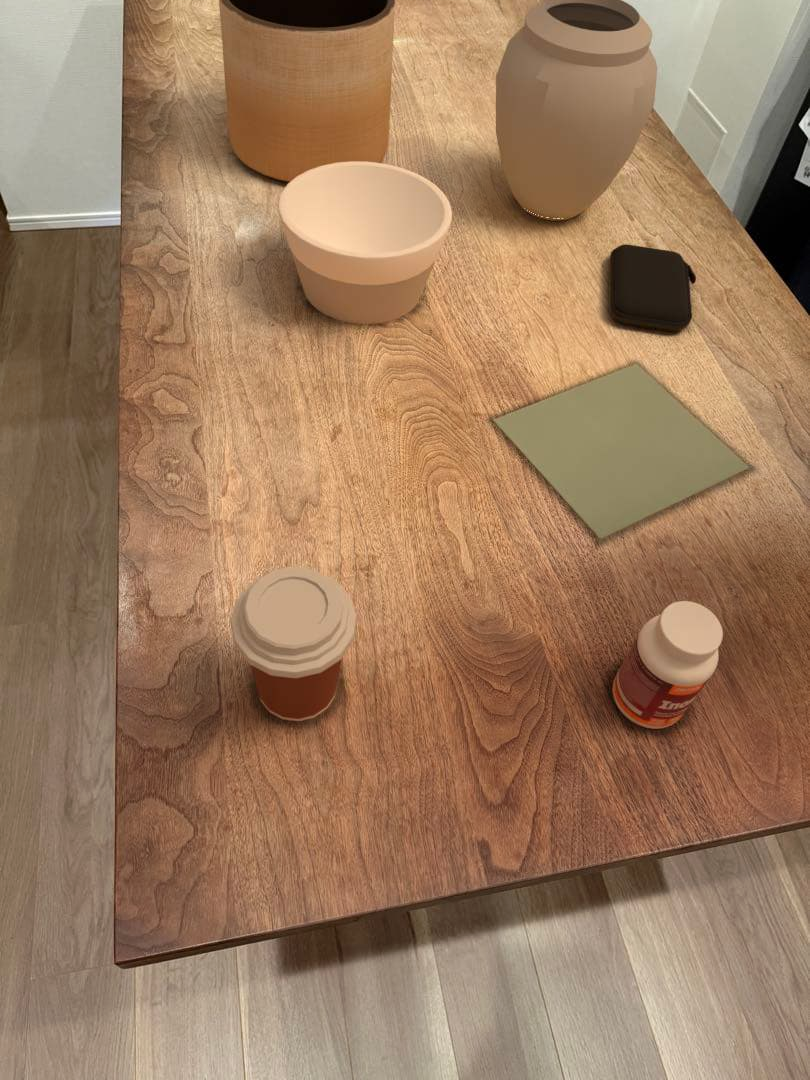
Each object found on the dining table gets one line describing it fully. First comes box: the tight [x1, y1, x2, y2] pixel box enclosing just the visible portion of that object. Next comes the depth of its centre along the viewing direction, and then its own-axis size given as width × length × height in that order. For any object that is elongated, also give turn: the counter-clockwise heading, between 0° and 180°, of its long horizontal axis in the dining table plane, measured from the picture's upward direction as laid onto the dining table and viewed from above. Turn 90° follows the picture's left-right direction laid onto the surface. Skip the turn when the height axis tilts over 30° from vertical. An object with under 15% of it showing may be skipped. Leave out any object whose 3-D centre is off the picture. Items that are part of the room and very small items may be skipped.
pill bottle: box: [612, 600, 724, 730], centre depth 69 cm, size 6×6×11 cm
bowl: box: [277, 161, 453, 325], centre depth 100 cm, size 19×19×11 cm
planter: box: [218, 0, 396, 184], centre depth 116 cm, size 22×22×20 cm
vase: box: [495, 0, 658, 221], centre depth 109 cm, size 20×20×24 cm
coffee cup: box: [230, 565, 358, 722], centre depth 67 cm, size 9×9×12 cm
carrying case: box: [608, 243, 697, 333], centre depth 106 cm, size 11×3×15 cm
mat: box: [492, 363, 750, 540], centre depth 91 cm, size 20×18×1 cm
